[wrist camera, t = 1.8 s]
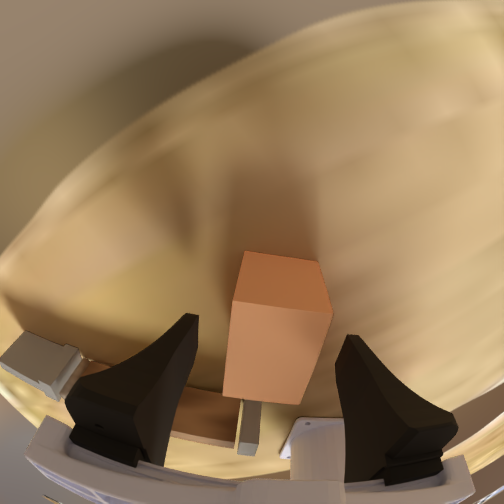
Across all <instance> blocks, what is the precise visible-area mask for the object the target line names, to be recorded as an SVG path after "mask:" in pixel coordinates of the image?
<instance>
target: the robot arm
mask: <svg viewBox="0 0 504 504" xmlns="http://www.w3.org/2000/svg"><path fill="white" fill-rule="evenodd" d="M198 323H199V315H195V314H189V313H186V314H184V315H183V316H182V317H181V318H180V319H179V320H178V321H177V322H176V323H175V324H174V325H173V326H172V327H171V328H170V329H169V330H168V331H167V332H165V333H164V334H163V335H162V336H161V337H160V338H159V339H157V340H156V341H155V342H153V343H152V344H151V345H150V346H148V347H147V348H145V349H144V350H142V351H141V352H139V353H138V354H136V355H135V356H133V357H131V358H129V359H128V360H126V361H124V362H122V363H120V364H118V365H115V366H113V367H111V368H108V369H105V370H103V371H100V372H96V373H93V374H89V375H86V376H82V377H79V379H78V380H77V381H76V382H75V384H74V385H73V387H72V388H71V390H70V391H69V393H68V395H67V396H66V398H65V405H66V408H67V410H68V412H69V413H70V415H71V417H72V419H73V420H74V422H75V426H74V428H73V429H72V428H71V427H69V426H68V425H66V424H64V423H62V422H60V421H58V420H56V419H54V418H52V417H50V416H48V415H46V417H45V418H44V420H43V422H42V423H41V425H40V427H39V428H38V430H37V432H36V433H35V435H34V437H33V438H32V440H31V442H30V444H29V445H28V447H27V449H26V451H25V453H24V456H25V457H26V458H27V459H28V460H29V461H30V462H31V463H32V464H33V465H34V466H35V467H36V468H37V469H38V470H39V471H40V472H41V473H43V474H44V475H45V476H46V477H47V478H48V479H50V480H52V481H54V482H55V483H57V484H59V485H61V486H63V487H65V488H66V489H68V490H70V491H72V492H74V493H76V494H78V495H80V496H82V497H84V498H86V499H88V500H90V501H92V502H94V503H96V504H458V503H460V502H461V501H463V500H464V499H466V498H468V497H469V496H471V495H472V494H474V493H475V488H474V485H473V482H472V479H471V475H470V472H469V469H468V466H467V463H466V461H465V458H464V455H459V456H455V457H452V458H449V459H446V460H444V461H442V462H441V458H440V457H442V456H443V452H442V448H443V447H444V446H445V445H446V444H447V443H448V442H449V441H450V440H451V439H452V438H453V437H454V436H455V435H456V433H457V431H458V425H457V423H456V420H455V418H454V416H453V414H452V413H450V412H448V411H446V410H443V409H441V408H439V407H437V406H435V405H433V404H432V403H430V402H428V401H426V400H425V399H423V398H422V397H420V396H419V395H417V394H416V393H415V392H413V391H412V390H410V389H409V388H408V387H407V386H405V385H404V384H403V383H402V382H401V381H400V380H399V379H397V378H396V377H395V376H394V375H393V374H392V373H391V372H390V371H389V370H388V369H387V368H386V367H385V365H384V364H383V363H382V362H381V361H380V360H379V359H378V358H377V356H376V355H375V354H374V353H373V352H372V351H371V349H370V348H369V347H368V346H367V345H366V343H365V342H364V341H363V340H362V339H361V338H360V337H359V335H348V334H347V336H346V338H345V341H344V343H343V346H342V348H341V351H340V353H339V355H338V358H337V360H336V363H335V373H336V383H337V388H338V393H339V398H340V403H341V408H342V413H343V418H311V417H300V418H298V419H296V421H295V423H294V425H293V428H292V430H291V432H290V434H289V436H288V438H287V440H286V442H285V444H284V446H283V448H282V450H281V452H280V458H282V459H290V480H285V479H250V480H244V481H243V482H242V481H234V480H226V479H219V478H213V477H207V476H202V475H196V474H192V473H187V472H182V471H178V470H174V469H170V468H166V467H164V462H165V456H166V451H167V447H168V442H169V437H170V433H171V429H172V425H173V421H174V417H175V413H176V409H177V406H178V403H179V400H180V397H181V394H182V392H183V389H184V387H185V384H186V382H187V379H188V377H189V374H190V372H191V369H192V367H193V364H194V360H195V356H196V352H197V348H198Z"/></svg>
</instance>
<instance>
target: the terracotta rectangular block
mask: <svg viewBox="0 0 504 504" xmlns="http://www.w3.org/2000/svg"><path fill="white" fill-rule="evenodd" d="M333 315H334V313H333V309H332V306H331V303H330V299H329V296H328V292H327V289H326V286H325V282H324V279H323V276H322V273H321V269H320V266H319V263H318V261H312V260H305V259H298V258H291V257H284V256H278V255H271V254H264V253H257V252H251V251H244V255H243V259H242V264H241V268H240V272H239V276H238V280H237V284H236V288H235V293H234V297H233V302H232V310H231V319H230V328H229V337H228V346H227V356H226V365H225V375H224V384H223V394H222V396H226V397H233V398H240V399H247V400H255V401H263V402H273V403H283V404H296V405H300V402H301V400H302V398H303V395H304V393H305V390H306V388H307V385H308V383H309V380H310V378H311V375H312V373H313V370H314V368H315V365H316V362H317V360H318V357H319V354H320V352H321V349H322V346H323V344H324V341H325V338H326V335H327V332H328V329H329V326H330V324H331V321H332V318H333Z"/></svg>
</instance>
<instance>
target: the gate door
mask: <svg viewBox="0 0 504 504" xmlns="http://www.w3.org/2000/svg"><path fill="white" fill-rule="evenodd" d="M108 368H111V367H109V366H106V365H103V364H100V363H97V362H94V361H91V362H90V361H89V360H88V359H86V358H83V359H82V360H81V362H80V363H79V364H78V366H77V367H76V369H75V370H74V372H73V373H72V374H71V376H70V377H69V379H68V380H67V382H66V383H65V385H64V386H63V388H62V389H61V391H60V392H59V394H60V396H61V397H62V398H63V399H65V398H66V396H67V395H68V393H69V391H70V390H71V388H72V387H73V385H74V384H75V382H76V381H77V380H78V379H79V377H82V376H86V375H89V374H93V373H96V372H100V371H103V370H105V369H108ZM240 401H241V399H240V398H233V397H226V396H222V393H216V392H210V391H205V390H200V389H195V388H190V387H184V389H183V392H182V394H181V397H180V400H179V403H178V406H177V409H176V413H175V417H174V421H173V425H172V429H171V433H170V436H171V437H175V438H179V439H184V440H188V441H193V442H198V443H203V444H208V445H214V446H220V447H226V448H233V449H234V444H235V438H236V431H237V423H238V416H239V408H240Z"/></svg>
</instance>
